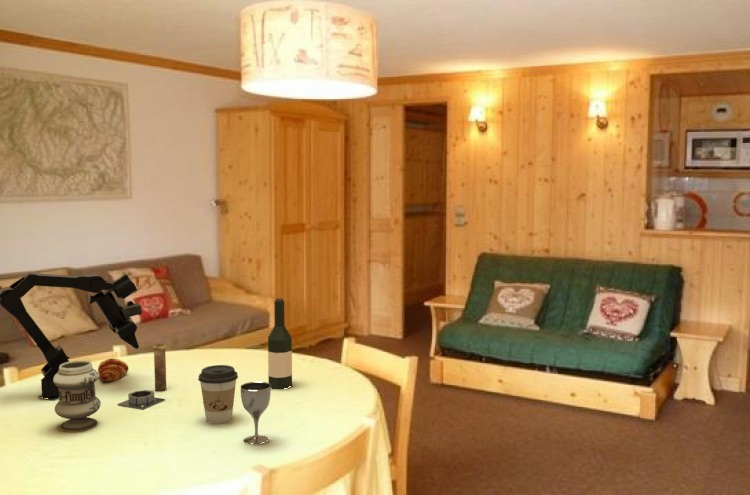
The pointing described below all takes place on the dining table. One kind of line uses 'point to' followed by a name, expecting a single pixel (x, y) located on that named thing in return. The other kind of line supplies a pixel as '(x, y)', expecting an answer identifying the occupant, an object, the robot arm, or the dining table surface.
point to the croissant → (112, 369)
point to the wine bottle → (279, 351)
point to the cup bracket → (141, 400)
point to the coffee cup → (218, 392)
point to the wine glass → (255, 405)
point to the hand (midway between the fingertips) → (134, 345)
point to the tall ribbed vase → (160, 367)
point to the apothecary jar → (76, 395)
